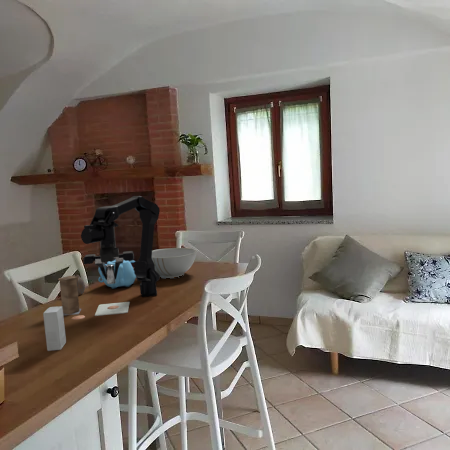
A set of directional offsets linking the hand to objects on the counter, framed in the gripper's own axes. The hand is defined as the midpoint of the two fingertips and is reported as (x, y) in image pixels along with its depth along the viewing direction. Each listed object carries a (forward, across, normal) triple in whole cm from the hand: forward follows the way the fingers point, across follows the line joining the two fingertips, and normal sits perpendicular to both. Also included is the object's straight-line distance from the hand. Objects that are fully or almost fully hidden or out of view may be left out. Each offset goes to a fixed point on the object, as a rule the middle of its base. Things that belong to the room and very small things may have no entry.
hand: (111, 279), depth 173 cm
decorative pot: (+12, 0, +38) cm, 40 cm away
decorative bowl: (+12, +25, +49) cm, 56 cm away
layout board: (+12, -6, -2) cm, 13 cm away
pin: (+2, 0, 0) cm, 2 cm away
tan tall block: (+12, -16, 0) cm, 20 cm away
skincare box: (+12, -14, -36) cm, 40 cm away
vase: (+12, -18, +28) cm, 35 cm away
